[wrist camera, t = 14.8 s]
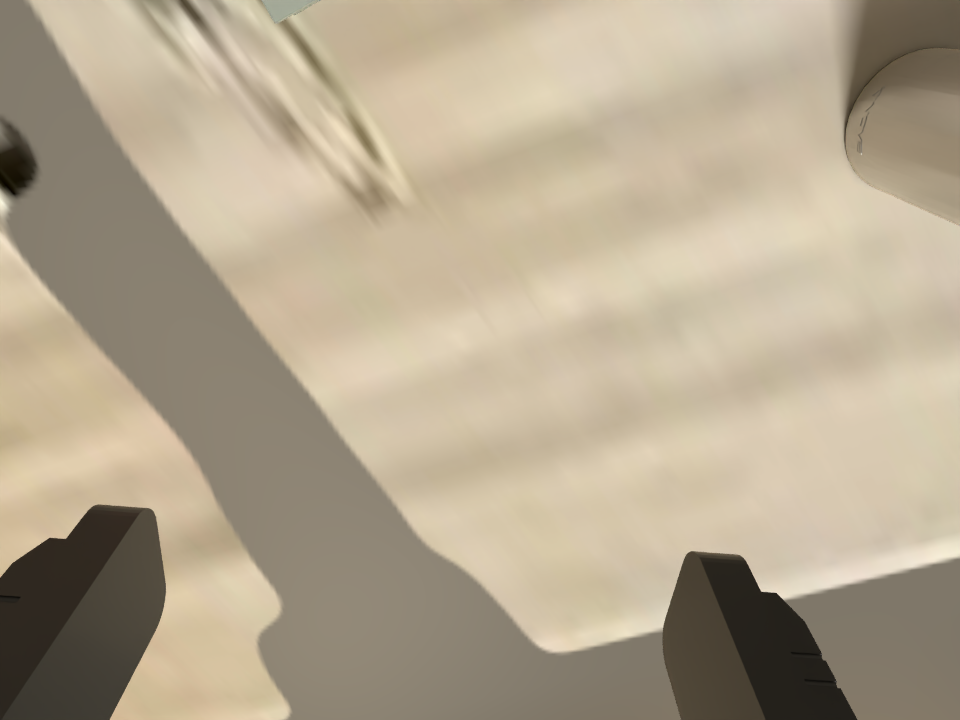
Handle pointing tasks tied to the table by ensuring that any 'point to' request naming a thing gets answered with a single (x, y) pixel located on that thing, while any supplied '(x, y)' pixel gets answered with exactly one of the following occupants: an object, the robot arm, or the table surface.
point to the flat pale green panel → (286, 8)
